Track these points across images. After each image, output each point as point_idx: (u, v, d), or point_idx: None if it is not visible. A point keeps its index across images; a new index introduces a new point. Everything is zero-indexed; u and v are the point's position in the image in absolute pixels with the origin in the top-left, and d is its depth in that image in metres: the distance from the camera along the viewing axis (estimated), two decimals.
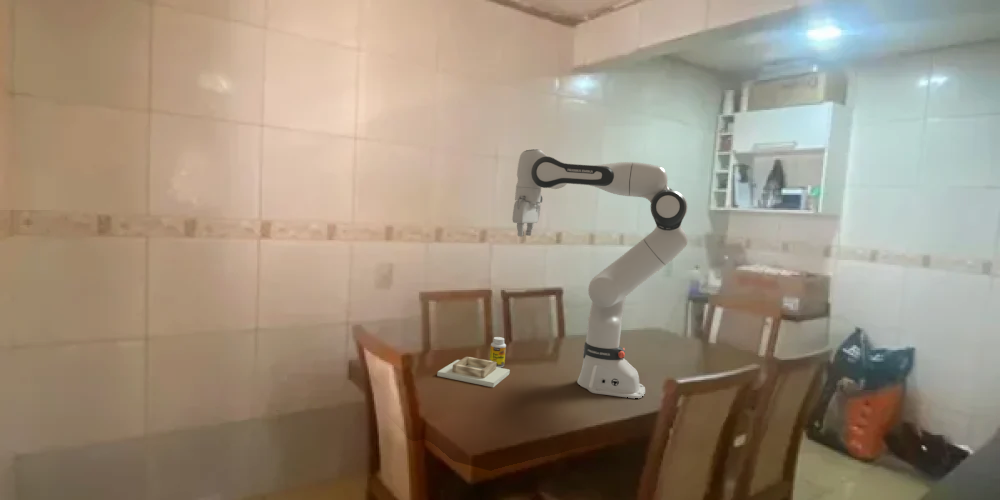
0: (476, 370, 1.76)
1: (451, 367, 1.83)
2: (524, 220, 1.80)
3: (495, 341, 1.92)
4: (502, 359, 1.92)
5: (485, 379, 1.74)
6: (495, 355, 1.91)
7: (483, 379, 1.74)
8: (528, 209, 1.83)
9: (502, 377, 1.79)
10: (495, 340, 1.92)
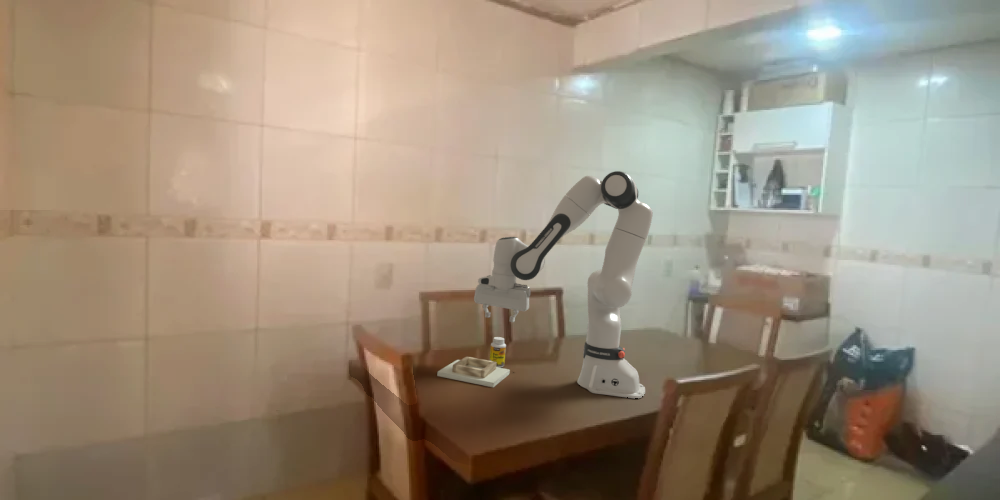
0: (476, 370, 1.76)
1: (451, 367, 1.83)
2: None
3: (495, 341, 1.92)
4: (502, 359, 1.92)
5: (485, 379, 1.74)
6: (495, 355, 1.91)
7: (483, 379, 1.74)
8: None
9: (502, 377, 1.79)
10: (495, 340, 1.92)
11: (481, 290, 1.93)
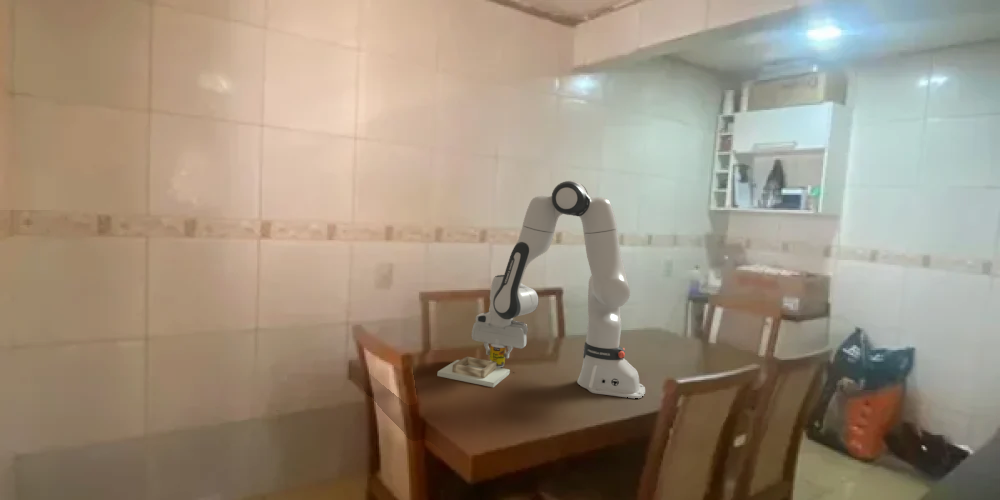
0: (476, 370, 1.76)
1: (451, 367, 1.83)
2: None
3: (495, 341, 1.92)
4: (502, 359, 1.92)
5: (485, 379, 1.74)
6: (495, 355, 1.91)
7: (483, 379, 1.74)
8: None
9: (502, 377, 1.79)
10: None
11: (478, 327, 1.94)
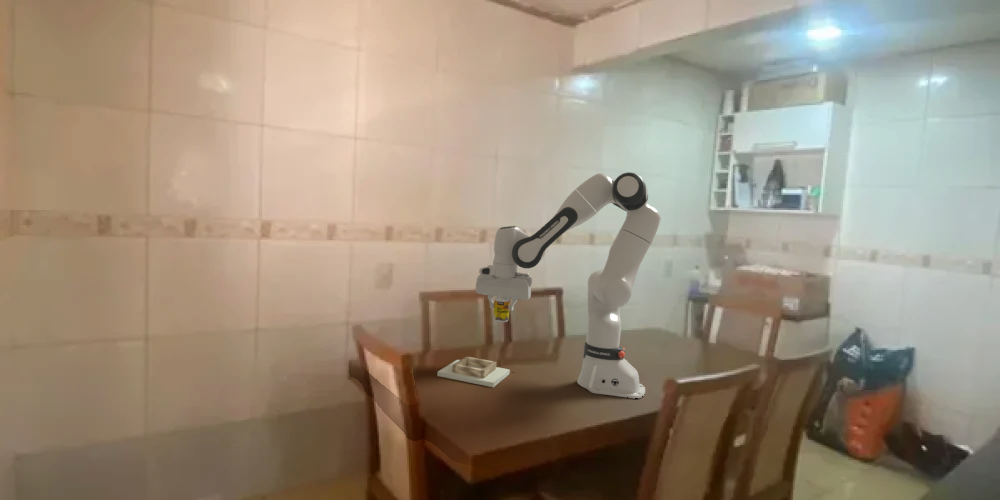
0: (476, 370, 1.76)
1: (451, 367, 1.83)
2: None
3: (499, 295, 1.91)
4: (506, 313, 1.91)
5: (485, 379, 1.74)
6: (499, 309, 1.90)
7: (483, 379, 1.74)
8: None
9: (502, 377, 1.79)
10: (499, 294, 1.91)
11: (482, 280, 1.92)
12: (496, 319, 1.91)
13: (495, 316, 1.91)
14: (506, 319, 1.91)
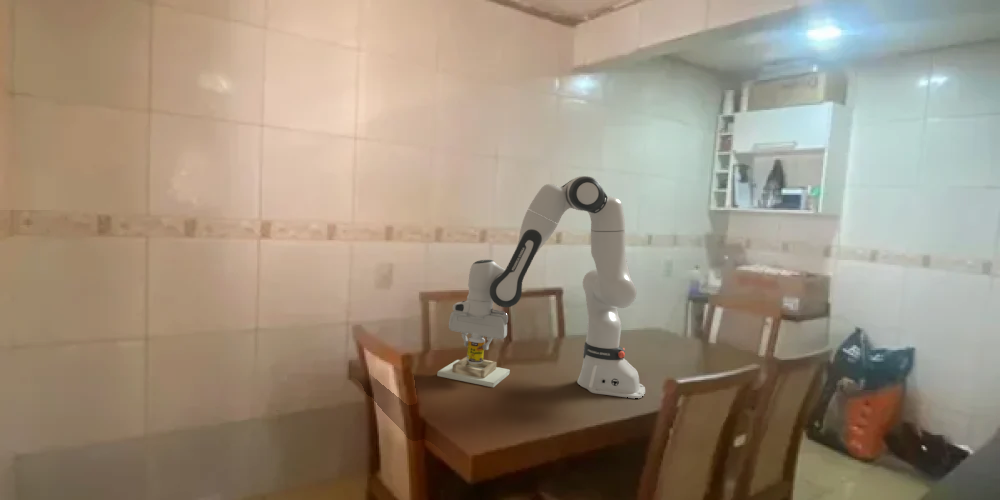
0: (476, 370, 1.76)
1: (451, 367, 1.83)
2: None
3: (473, 335, 1.79)
4: (480, 354, 1.79)
5: (485, 379, 1.74)
6: (473, 350, 1.79)
7: (483, 379, 1.74)
8: None
9: (502, 377, 1.79)
10: (473, 334, 1.79)
11: (456, 317, 1.81)
12: (469, 360, 1.80)
13: (468, 357, 1.80)
14: (480, 361, 1.80)
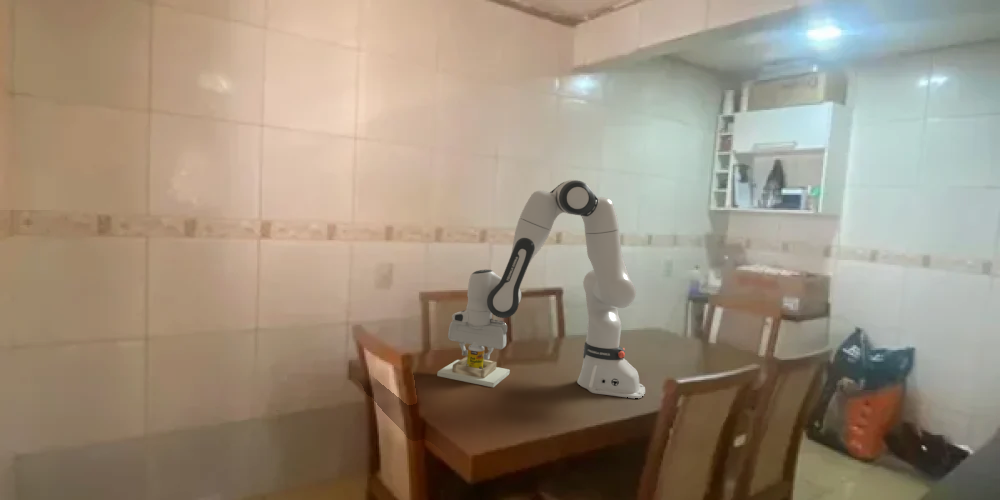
0: (476, 370, 1.76)
1: (451, 367, 1.83)
2: None
3: (472, 344, 1.80)
4: (480, 363, 1.80)
5: (485, 379, 1.74)
6: (473, 359, 1.79)
7: (483, 379, 1.74)
8: None
9: (502, 377, 1.79)
10: None
11: (455, 327, 1.82)
12: None
13: (468, 366, 1.80)
14: None
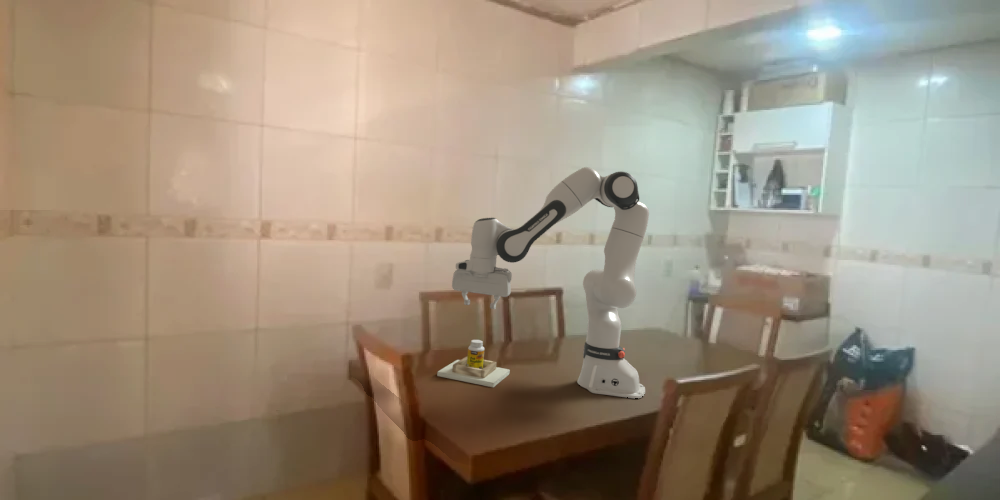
0: (476, 370, 1.76)
1: (451, 367, 1.83)
2: None
3: (472, 344, 1.80)
4: (480, 363, 1.80)
5: (485, 379, 1.74)
6: (473, 359, 1.79)
7: (483, 379, 1.74)
8: None
9: (502, 377, 1.79)
10: (472, 343, 1.80)
11: (459, 276, 1.80)
12: None
13: (468, 366, 1.80)
14: None
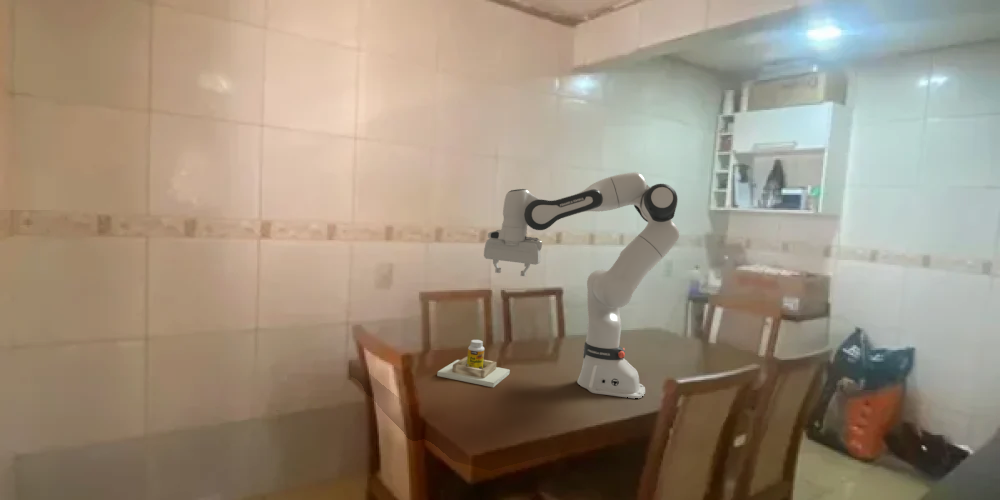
0: (476, 370, 1.76)
1: (451, 367, 1.83)
2: None
3: (472, 344, 1.80)
4: (480, 363, 1.80)
5: (485, 379, 1.74)
6: (473, 359, 1.79)
7: (483, 379, 1.74)
8: None
9: (502, 377, 1.79)
10: (472, 343, 1.80)
11: (491, 245, 1.88)
12: None
13: (468, 366, 1.80)
14: None
